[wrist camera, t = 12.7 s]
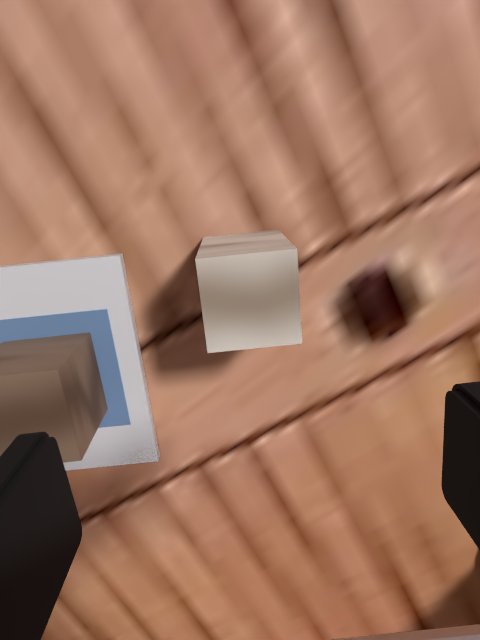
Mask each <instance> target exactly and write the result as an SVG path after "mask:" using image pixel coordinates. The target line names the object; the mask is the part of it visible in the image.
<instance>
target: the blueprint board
mask: <svg viewBox="0 0 480 640" xmlns="http://www.w3.org/2000/svg"><path fill="white" fill-rule="evenodd" d="M89 332H90V333H91V338H92V342H93V346H94V351H95V355H96V359H97V364H98V368H99V372H100V377H101V381H102V385H103V390H104V394H105V398H106V403H107V407H108V410H107V412H106V414H105V416H104V418H103V420H102V422H101V423H100V425H99V427H98V429H97V431H96V433H95V435H94V437H93V439H92V441H91V443H90V445H89V447H88V449H87V451H86V453H85V455H84V457H83V459H82V461H74V462H64V463H63V464H64V467H65V471H67V470H77V469H87V468H97V467H107V466H116V465H126V464H136V463H146V462H155V461H159V456H160V453H159V447H158V442H157V437H156V431H155V426H154V420H153V415H152V410H151V404H150V399H149V394H148V388H147V383H146V377H145V372H144V367H143V361H142V356H141V351H140V345H139V340H138V334H137V329H136V324H135V318H134V313H133V308H132V302H131V297H130V291H129V286H128V281H127V275H126V270H125V265H124V259H123V254H122V253H120V254H110V255H101V256H91V257H81V258H71V259H62V260H52V261H42V262H32V263H23V264H13V265H3V266H0V344H1V343H2V342H5V341H15V340H24V339H33V338H42V337H52V336H61V335H70V334H80V333H89Z"/></svg>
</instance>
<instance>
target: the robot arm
mask: <svg viewBox="0 0 480 640" xmlns="http://www.w3.org/2000/svg"><path fill="white" fill-rule="evenodd" d="M442 490H443V494H444V497H445V499H446V501H447V503H448V504H449V506H450V507H451V509H452V510H453V511H454V513H455V514H456V516H457V517H458V519H459V520H460V522H461V523H462V525H463V526H464V528H465V529H466V531H467V532H468V533H469V535H470V536H471V538H472V539H473V541H474V542H475V544H476V545H477V547H478V548H479V550H480V382H471V383H462V384H455V385H454V386H453V388H452V391H448V392H447V393H446V397H445V418H444V442H443V465H442ZM81 537H82V527H81V522H80V519H79V515H78V512H77V509H76V505H75V502H74V498H73V495H72V491H71V488H70V484H69V481H68V478H67V474H66V471H65V467H64V464H63V460H62V457H61V454H60V450H59V447H58V443H57V441H56V439H55V438H54V437H49V435H48V434H47V433H46V432H35V433H27V434H20V435H18V436H17V437H16V438H15V439H14V440H13V442H12V443H11V444H10V445H9V446H8V448H7V449H6V450H5V451H4V453H3V454H2V455H1V456H0V640H41V637H42V635H43V632H44V630H45V628H46V625H47V623H48V620H49V618H50V615H51V613H52V610H53V608H54V605H55V603H56V601H57V598H58V596H59V593H60V591H61V588H62V586H63V583H64V581H65V579H66V576H67V574H68V571H69V569H70V566H71V564H72V561H73V559H74V556H75V554H76V552H77V549H78V547H79V544H80V541H81ZM331 640H480V624H476V625H466V626H457V627H447V628H437V629H427V630H418V631H408V632H398V633H388V634H379V635H369V636H359V637H350V638H340V639H331Z"/></svg>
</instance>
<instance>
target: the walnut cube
mask: <svg viewBox="0 0 480 640" xmlns="http://www.w3.org/2000/svg"><path fill="white" fill-rule="evenodd" d="M107 410H108V407H107V403H106V398H105V394H104V390H103V385H102V381H101V377H100V372H99V368H98V364H97V359H96V355H95V351H94V346H93V342H92V338H91V333H90V332H89V333H80V334H70V335H61V336H52V337H42V338H33V339H24V340H15V341H5V342H2V343H1V344H0V456H1V455H2V454H3V453H4V451H5V450H6V449H7V448H8V446H9V445H10V444H11V443H12V442H13V440H14V439H15V438H16V437H17V436H18V435H20V434H27V433H35V432H46V433H47V434H48V435H49V437H54V438H55V439H56V441H57V443H58V447H59V450H60V454H61V457H62V460H63V463H64V462H74V461H82V459H83V457H84V455H85V453H86V451H87V449H88V447H89V445H90V443H91V441H92V439H93V437H94V435H95V433H96V431H97V429H98V427H99V425H100V423H101V422H102V420H103V418H104V416H105V414H106V412H107Z"/></svg>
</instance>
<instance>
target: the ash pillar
mask: <svg viewBox="0 0 480 640" xmlns="http://www.w3.org/2000/svg"><path fill="white" fill-rule="evenodd" d="M195 262H196V270H197V277H198V285H199V292H200V300H201V307H202V315H203V323H204V330H205V338H206V345H207V353H214V352H224V351H233V350H243V349H253V348H263V347H273V346H282V345H292V344H302V330H301V312H300V293H299V275H298V256H297V248H296V247H295V246H294V245H293V244H292V243H291V242H290V241H289V240H288V239H287V238H286V237H285V236H284V235H283V234H282V233H281V232H280V231H279V230H269V231H259V232H250V233H240V234H230V235H220V236H211V237H203V239H202V242H201V245H200V247H199V250H198V253H197V255H196V258H195Z"/></svg>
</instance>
